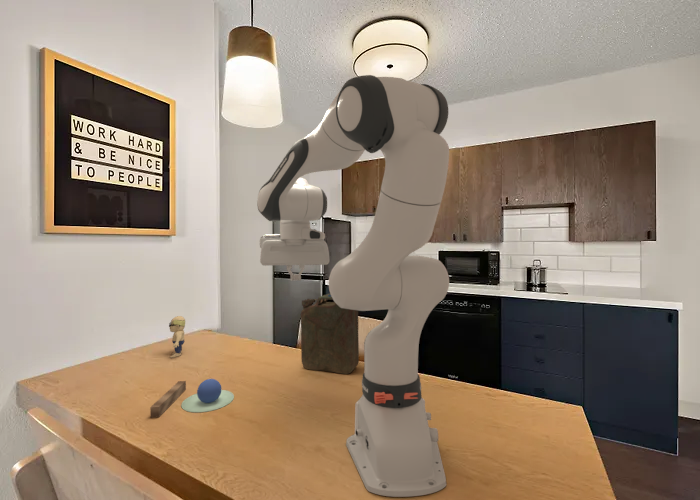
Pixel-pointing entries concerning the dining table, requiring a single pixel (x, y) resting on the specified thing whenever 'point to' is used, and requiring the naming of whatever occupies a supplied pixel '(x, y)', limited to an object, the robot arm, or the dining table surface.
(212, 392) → the ball
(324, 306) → the canister
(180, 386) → the brown bar
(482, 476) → the dining table surface
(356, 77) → the robot arm
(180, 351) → the toy
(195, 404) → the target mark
